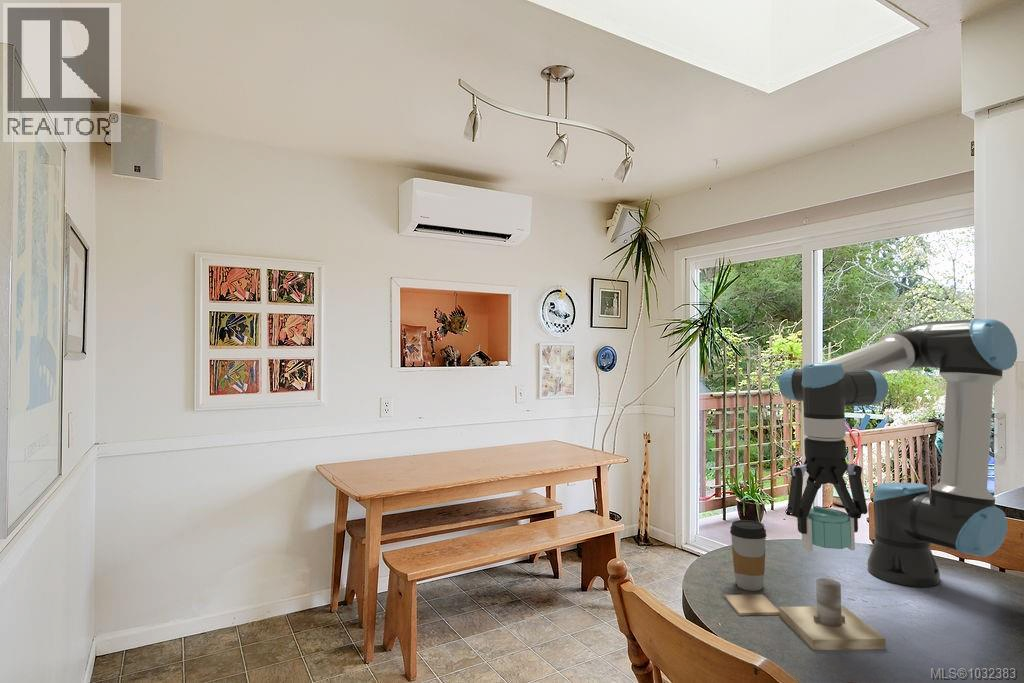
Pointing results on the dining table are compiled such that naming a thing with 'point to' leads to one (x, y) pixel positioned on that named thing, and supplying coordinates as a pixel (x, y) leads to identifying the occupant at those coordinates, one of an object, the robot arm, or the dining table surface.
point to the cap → (830, 528)
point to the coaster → (751, 605)
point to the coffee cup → (748, 553)
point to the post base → (830, 634)
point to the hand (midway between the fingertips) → (828, 548)
